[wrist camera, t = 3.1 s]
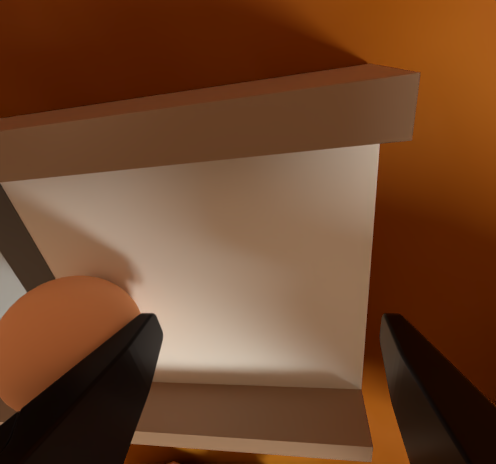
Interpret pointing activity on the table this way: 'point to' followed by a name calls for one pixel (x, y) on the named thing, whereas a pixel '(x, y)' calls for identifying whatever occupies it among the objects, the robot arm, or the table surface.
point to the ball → (57, 332)
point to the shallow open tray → (221, 244)
